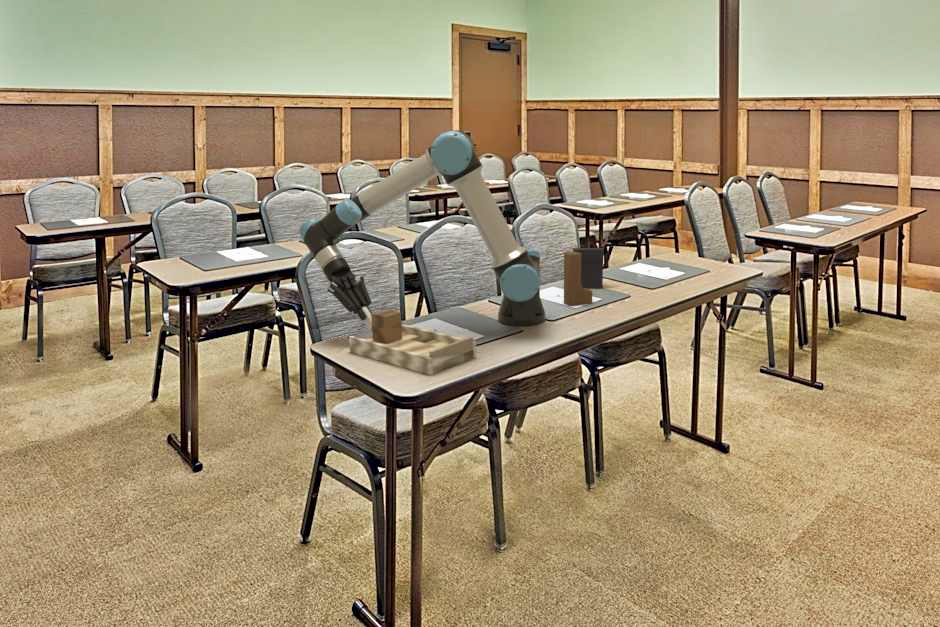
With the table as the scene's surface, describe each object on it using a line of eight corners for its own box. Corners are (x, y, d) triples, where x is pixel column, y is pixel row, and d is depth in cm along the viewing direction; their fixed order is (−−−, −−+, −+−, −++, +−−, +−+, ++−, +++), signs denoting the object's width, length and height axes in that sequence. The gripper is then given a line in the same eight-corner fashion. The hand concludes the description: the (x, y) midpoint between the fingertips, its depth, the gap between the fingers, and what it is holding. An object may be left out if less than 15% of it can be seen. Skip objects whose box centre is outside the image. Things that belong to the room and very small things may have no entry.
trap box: (349, 351, 218) (348, 331, 217) (396, 336, 232) (395, 317, 230) (430, 375, 198) (429, 353, 196) (476, 357, 211) (476, 336, 209)
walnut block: (372, 340, 220) (371, 313, 218) (388, 335, 225) (386, 309, 222) (386, 344, 216) (385, 316, 214) (402, 339, 221) (400, 312, 219)
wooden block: (586, 300, 269) (587, 249, 264) (592, 303, 264) (593, 252, 260) (563, 303, 266) (563, 252, 261) (569, 306, 262) (569, 254, 257)
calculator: (601, 286, 288) (602, 247, 284) (602, 289, 284) (603, 249, 280) (572, 286, 289) (572, 247, 285) (573, 289, 285) (573, 249, 281)
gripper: (345, 268, 236) (384, 329, 230) (310, 275, 227) (350, 339, 220) (355, 253, 231) (395, 315, 225) (320, 260, 222) (361, 325, 215)
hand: (373, 327), depth 223 cm, fingers closed
